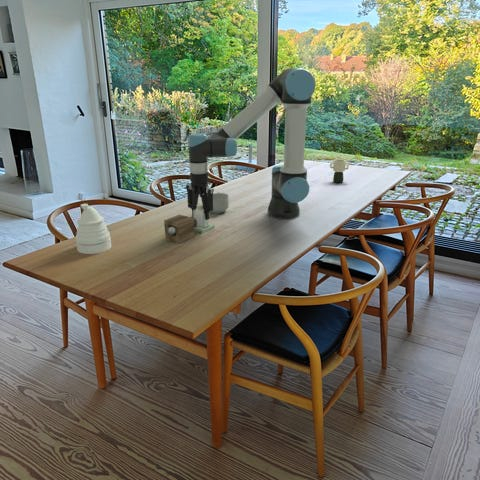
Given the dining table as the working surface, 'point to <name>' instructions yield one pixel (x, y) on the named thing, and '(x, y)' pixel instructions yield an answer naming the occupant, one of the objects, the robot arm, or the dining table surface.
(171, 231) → the shaft
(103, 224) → the honey pot
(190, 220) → the bearing block
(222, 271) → the dining table surface
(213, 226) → the keeper socket
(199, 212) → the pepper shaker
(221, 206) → the teacup
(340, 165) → the trophy cup
